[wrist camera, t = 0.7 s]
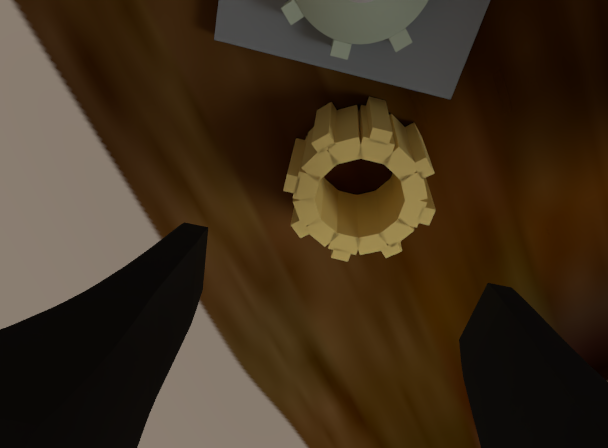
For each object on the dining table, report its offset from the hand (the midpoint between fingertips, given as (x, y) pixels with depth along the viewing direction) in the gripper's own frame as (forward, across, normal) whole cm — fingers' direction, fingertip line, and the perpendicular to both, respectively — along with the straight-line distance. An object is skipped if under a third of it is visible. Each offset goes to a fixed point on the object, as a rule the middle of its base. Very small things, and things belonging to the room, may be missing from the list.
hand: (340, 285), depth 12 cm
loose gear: (+9, -1, +1) cm, 9 cm away
